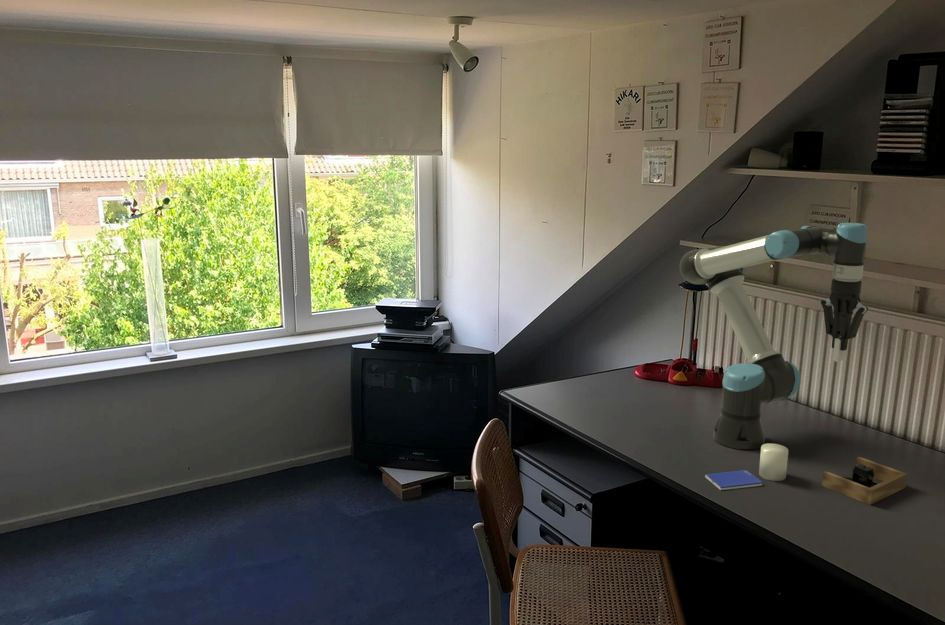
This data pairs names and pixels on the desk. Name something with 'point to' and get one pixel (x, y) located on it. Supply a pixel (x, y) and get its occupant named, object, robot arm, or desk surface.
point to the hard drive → (733, 480)
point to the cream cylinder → (773, 462)
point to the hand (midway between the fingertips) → (837, 360)
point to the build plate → (865, 478)
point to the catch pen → (889, 486)
